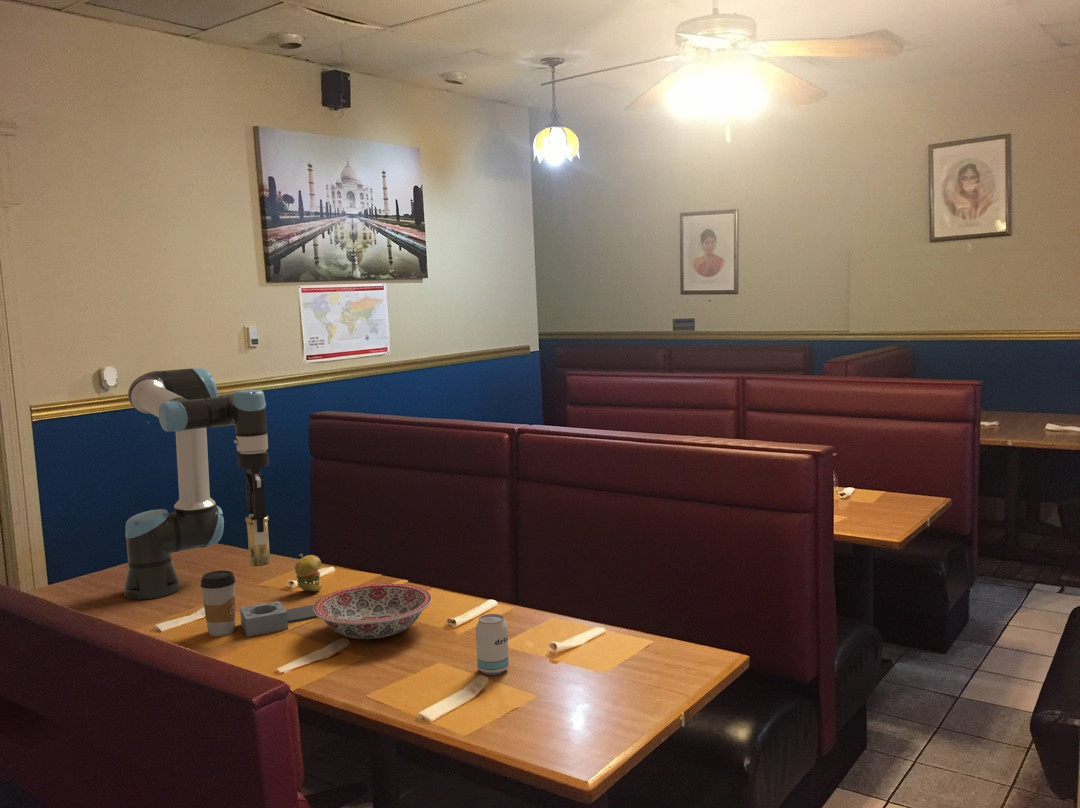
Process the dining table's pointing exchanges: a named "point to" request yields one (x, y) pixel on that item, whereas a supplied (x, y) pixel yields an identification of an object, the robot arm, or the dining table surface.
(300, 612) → the rubber mat
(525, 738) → the dining table surface
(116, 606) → the dining table surface
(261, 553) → the gold round-topped cylinder
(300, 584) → the hamburger
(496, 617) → the beverage can
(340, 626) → the ceramic bowl
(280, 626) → the housing
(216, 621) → the coffee cup
